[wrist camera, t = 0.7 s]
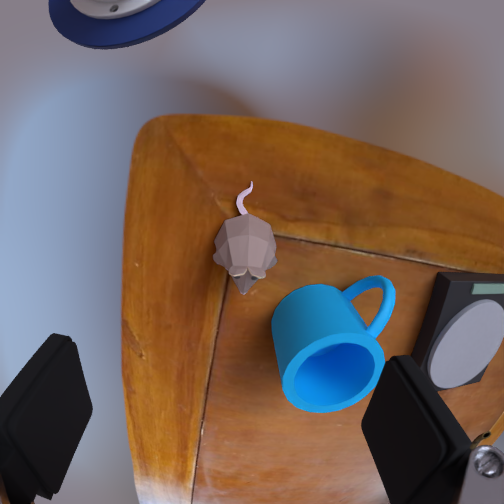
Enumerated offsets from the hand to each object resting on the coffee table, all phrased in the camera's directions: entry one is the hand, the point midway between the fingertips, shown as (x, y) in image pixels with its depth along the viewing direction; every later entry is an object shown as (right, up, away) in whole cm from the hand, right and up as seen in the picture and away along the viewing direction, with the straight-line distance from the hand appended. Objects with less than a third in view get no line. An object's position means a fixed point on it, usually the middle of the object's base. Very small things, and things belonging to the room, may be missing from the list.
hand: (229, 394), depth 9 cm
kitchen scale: (+26, -5, +23) cm, 35 cm away
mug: (+8, -1, +21) cm, 23 cm away
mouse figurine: (0, +6, +18) cm, 19 cm away
